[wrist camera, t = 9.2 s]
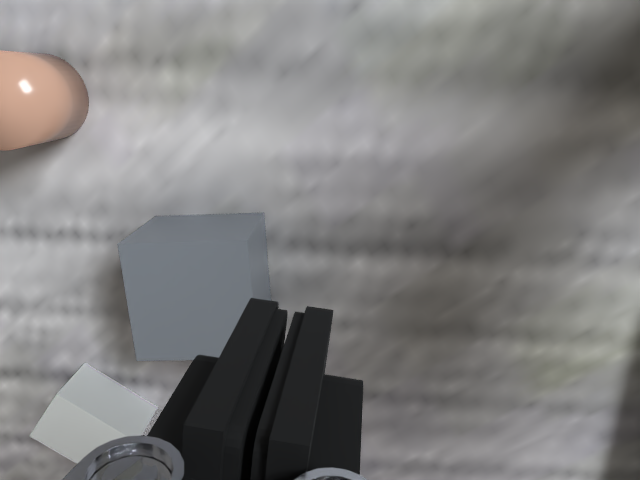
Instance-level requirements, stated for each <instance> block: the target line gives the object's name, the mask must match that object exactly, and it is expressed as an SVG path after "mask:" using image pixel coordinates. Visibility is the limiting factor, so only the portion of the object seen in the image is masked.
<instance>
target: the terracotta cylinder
mask: <svg viewBox="0 0 640 480" xmlns="http://www.w3.org/2000/svg"><path fill="white" fill-rule="evenodd" d="M88 108H89V98H88V92H87V89H86V86H85V84H84V81H83V80H82V78H81V76H80V75H79V73H78V72H77V71H76V70H75V69H74V68H73V67H72V66H71V65H70V64H69V63H68V62H66V61H65V60H63V59H61V58H59V57H57V56H54V55H50V54H42V53H27V52H13V51H0V150H13V149H18V148H22V147H27V146H31V145H36V144H40V143H45V142H49V141H53V140H58V139H62V138H66V137H68V136H70V135H72V134H74V133H75V132H76V131H78V130H79V128H80V127H81V126H82V125H83V123H84V121H85V119H86V117H87V114H88Z"/></svg>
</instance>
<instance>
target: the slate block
mask: <svg viewBox="0 0 640 480" xmlns="http://www.w3.org/2000/svg"><path fill="white" fill-rule="evenodd" d="M117 245H118V251H119V257H120V263H121V269H122V275H123V281H124V287H125V293H126V300H127V306H128V312H129V318H130V324H131V330H132V336H133V342H134V348H135V355H136V361H160V360H194V359H195V357H196V356H197V355H206V356H212V357H220V355H221V353H222V351H223V349H224V347H225V345H226V343H227V341H228V340H229V338H230V336H231V334H232V332H233V330H234V328H235V326H236V324H237V323H238V321H239V319H240V317H241V315H242V313H243V311H244V309H245V307H246V305H247V304H248V302H249V300H250V298H256V299H263V300H269V301H271V294H270V281H269V268H268V255H267V242H266V229H265V216H264V213H238V214H206V215H174V216H155V217H153V218H152V219H151V220H149V221H148V222H147V223H145V224H144V225H143V226H141V227H140V228H139V229H137V230H136V231H134V232H133V233H132V234H130V235H129V236H128V237H126V238H125V239H124V240H122V241H121V242H119V243H118V244H117Z"/></svg>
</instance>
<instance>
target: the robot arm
mask: <svg viewBox="0 0 640 480" xmlns="http://www.w3.org/2000/svg"><path fill="white" fill-rule="evenodd" d="M332 317H333V310H328V309H321V308H315V307H308V306H307V307H306V310H305V313H300V312H295V313H294V317H293V320H292V323H291V326H290V329H289V332H288V335H287V338H286V341H285V344H284V340H285V331H286V322H287V310H281V309H278V302H276V301H269V300H263V299H256V298H250V300H249V302H248V304H247V305H246V307H245V309H244V311H243V313H242V315H241V317H240V319H239V321H238V323H237V324H236V326H235V328H234V330H233V332H232V334H231V336H230V338H229V340H228V341H227V343H226V345H225V347H224V349H223V351H222V353H221V355H220V357H212V356H206V355H197V356H196V357H195V359H194V360H193V362H192V363H191V365H190V366H189V368H188V370H187V371H186V373H185V375H184V376H183V378H182V380H181V381H180V383H179V385H178V386H177V388H176V389H175V391H174V393H173V394H172V396H171V398H170V399H169V401H168V403H167V404H166V406H165V407H164V409H163V411H162V412H161V414H160V416H159V417H158V419H157V421H156V422H155V424H154V426H153V427H152V429H151V430H150V432H149V434H148V435H147V436H144V435H141V436H126V437H122V438H118V439H114V440H111V441H109V442H107V443H105V444H102V445H100V446H98V447H96V448H95V449H94V450H92V451H91V452H90V453H89V454H87V455H86V456H85V457H84V458H83V459H82V460H81V461H80V462H79V463H78V464H77V465H76V466H75V467H74V468H73V469H72V470H71V471H70V472H69V473H68V474H67V475H66V476H65V477H64V478H63V479H62V480H367V479H366V478H364V477H363V476H361V475H360V451H361V426H362V401H363V381H362V380H356V379H350V378H344V377H337V376H331V375H325V367H326V360H327V352H328V345H329V338H330V331H331V324H332Z"/></svg>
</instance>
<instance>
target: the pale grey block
mask: <svg viewBox="0 0 640 480" xmlns="http://www.w3.org/2000/svg"><path fill="white" fill-rule="evenodd" d="M157 408H158V407H157V406H155V405H154V404H152V403H150V402H149V401H147V400H146V399H144V398H142V397H141V396H139V395H137V394H136V393H134V392H133V391H131V390H129V389H128V388H126V387H124V386H123V385H121V384H120V383H118V382H116V381H115V380H113V379H111V378H110V377H108V376H106V375H105V374H103V373H102V372H100V371H98V370H97V369H95V368H93V367H92V366H90V365H89V364H87V363H84V364H83V365H82V366H81V367H80V369H79V370H78V371H77V372H76V373H75V374H74V375H73V376H72V377H71V379H70V380H69V381H68V382H67V383H66V384H65V385H64V386H63V387H62V388H61V390H60V391H59V392H58V393H57V394H56V396H55V397H54V399H53V400H52V402H51V403H50V405H49V406H48V408H47V409H46V411H45V412H44V414H43V416H42V417H41V419H40V420H39V422H38V423H37V425H36V426H35V428H34V429H33V431H32V433H31V434H30V437H31V438H33V439H35V440H37V441H38V442H40V443H42V444H43V445H45V446H47V447H49V448H50V449H52V450H54V451H55V452H57V453H59V454H61V455H62V456H64V457H66V458H67V459H69V460H71V461H73V462H74V463H76V464H78V463H79V462H80V461H81V460H82V459H83V458H84V457H85V456H86V455H87V454H89V453H90V452H91V451H92V450H94V449H95V448H96V447H98V446H100V445H102V444H105V443H107V442H109V441H111V440H114V439H118V438H122V437H126V436H141V435H143V433H144V431H145V429H146V428H147V426H148V424H149V422H150V420H151V419H152V417H153V415H154V413H155V412H156V410H157Z"/></svg>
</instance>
